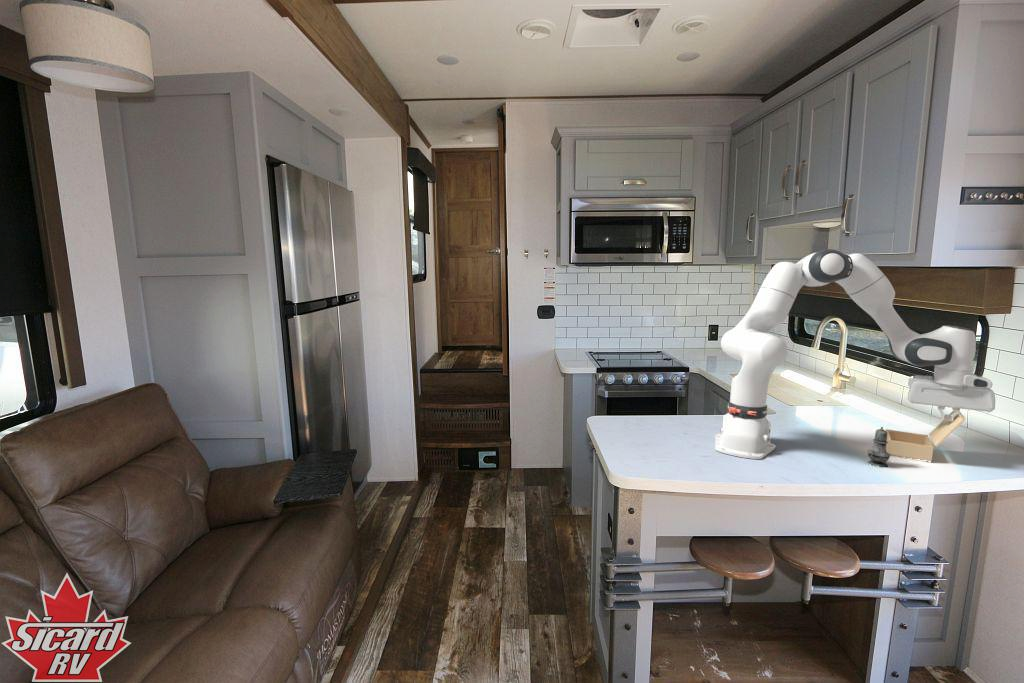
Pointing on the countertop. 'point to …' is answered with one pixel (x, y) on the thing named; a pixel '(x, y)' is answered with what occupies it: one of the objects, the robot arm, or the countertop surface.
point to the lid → (946, 429)
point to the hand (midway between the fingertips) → (947, 420)
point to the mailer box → (909, 445)
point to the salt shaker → (879, 449)
